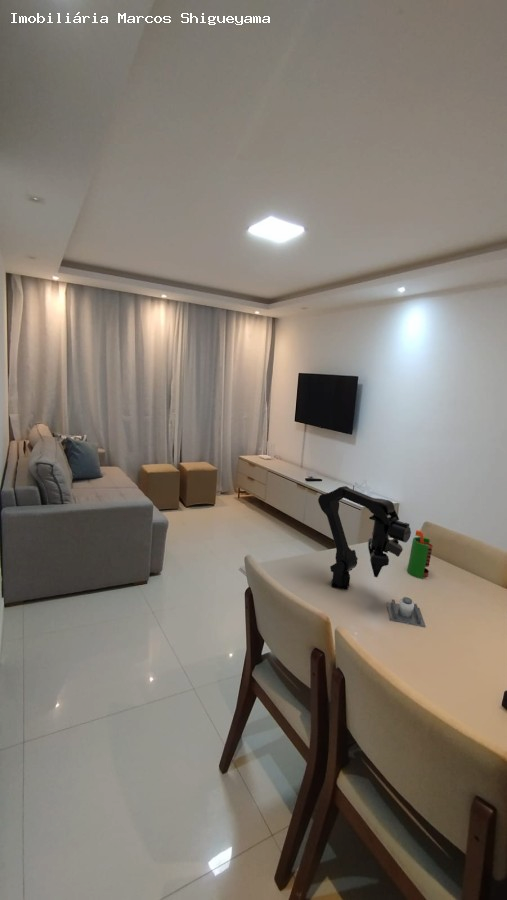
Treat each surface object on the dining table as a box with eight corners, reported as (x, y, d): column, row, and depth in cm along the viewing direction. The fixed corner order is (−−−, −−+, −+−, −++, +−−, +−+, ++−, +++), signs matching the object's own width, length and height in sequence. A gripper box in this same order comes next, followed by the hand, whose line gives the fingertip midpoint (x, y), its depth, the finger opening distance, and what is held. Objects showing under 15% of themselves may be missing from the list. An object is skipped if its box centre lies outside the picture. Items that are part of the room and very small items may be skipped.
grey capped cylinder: (399, 615, 148) (401, 601, 147) (397, 608, 153) (399, 594, 152) (413, 618, 147) (415, 604, 146) (411, 610, 152) (413, 597, 151)
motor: (430, 580, 180) (437, 537, 176) (409, 576, 182) (416, 534, 178) (425, 570, 190) (432, 529, 186) (405, 567, 191) (412, 526, 188)
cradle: (389, 620, 145) (390, 614, 145) (386, 603, 157) (387, 597, 157) (425, 627, 143) (426, 620, 143) (419, 609, 155) (420, 603, 154)
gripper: (406, 546, 143) (399, 587, 146) (399, 528, 161) (393, 565, 164) (373, 540, 145) (368, 581, 148) (370, 524, 163) (365, 560, 166)
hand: (374, 571), depth 156 cm, fingers open, 9 cm apart
